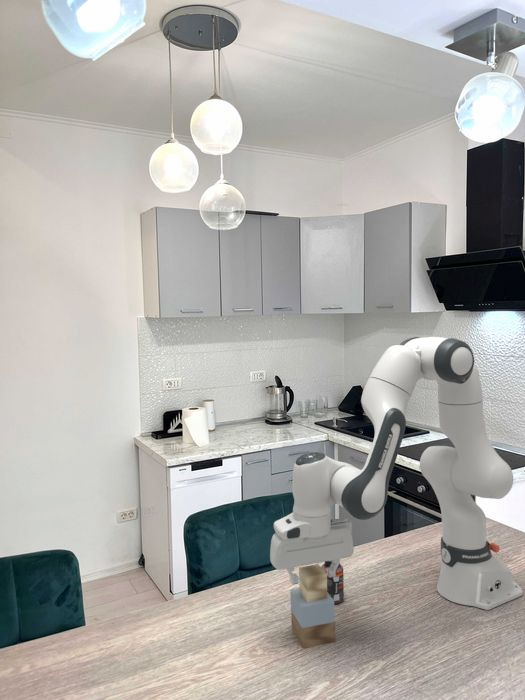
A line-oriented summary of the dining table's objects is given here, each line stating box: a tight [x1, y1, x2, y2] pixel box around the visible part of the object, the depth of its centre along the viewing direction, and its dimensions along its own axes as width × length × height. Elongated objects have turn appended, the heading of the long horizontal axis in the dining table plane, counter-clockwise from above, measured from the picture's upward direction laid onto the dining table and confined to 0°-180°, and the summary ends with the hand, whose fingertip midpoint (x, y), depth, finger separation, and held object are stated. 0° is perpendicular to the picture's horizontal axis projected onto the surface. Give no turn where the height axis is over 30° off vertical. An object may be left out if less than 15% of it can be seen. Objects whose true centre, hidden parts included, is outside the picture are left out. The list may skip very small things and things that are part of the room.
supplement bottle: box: [320, 560, 345, 605], centre depth 138 cm, size 6×6×11 cm
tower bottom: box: [290, 610, 337, 649], centre depth 123 cm, size 8×8×5 cm
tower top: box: [289, 587, 336, 628], centre depth 123 cm, size 8×8×5 cm
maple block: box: [298, 563, 327, 603], centre depth 122 cm, size 5×5×6 cm
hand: (313, 579), depth 122 cm, fingers open, 8 cm apart
